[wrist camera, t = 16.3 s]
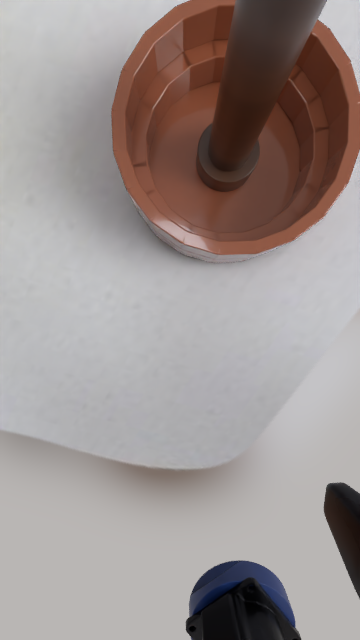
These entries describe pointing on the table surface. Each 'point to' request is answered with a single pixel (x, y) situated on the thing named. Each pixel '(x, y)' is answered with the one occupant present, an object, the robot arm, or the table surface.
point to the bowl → (198, 113)
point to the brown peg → (252, 85)
